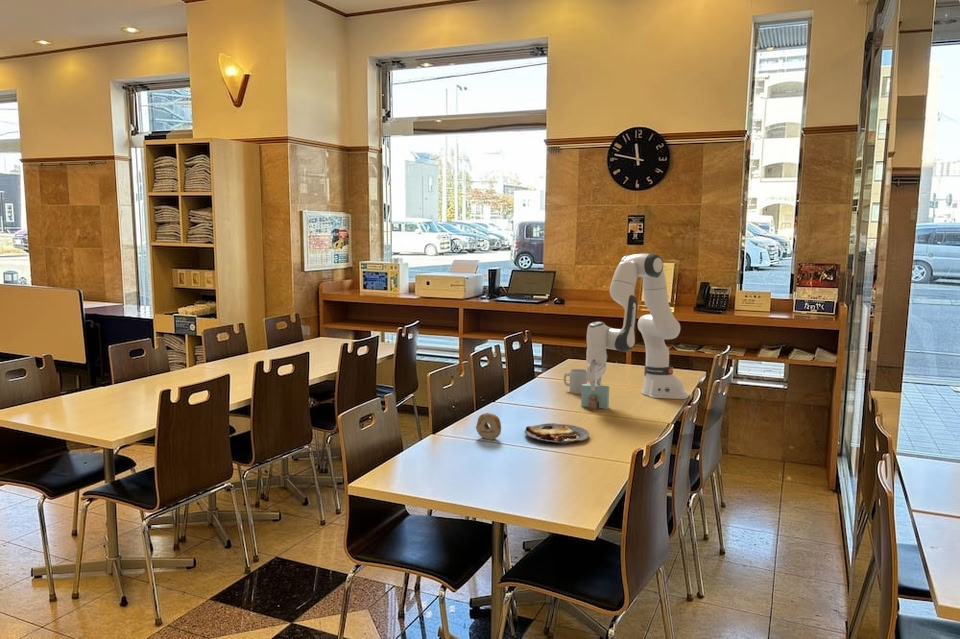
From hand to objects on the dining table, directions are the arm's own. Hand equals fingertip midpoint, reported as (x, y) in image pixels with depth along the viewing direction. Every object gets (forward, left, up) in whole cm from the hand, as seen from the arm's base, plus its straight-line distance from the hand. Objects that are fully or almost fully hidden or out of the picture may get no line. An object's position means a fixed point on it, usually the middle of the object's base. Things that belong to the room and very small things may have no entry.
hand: (596, 387), depth 314 cm
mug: (+17, -26, -9) cm, 32 cm away
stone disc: (+25, +64, -9) cm, 70 cm away
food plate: (+2, +51, -9) cm, 52 cm away
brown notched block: (0, 0, -9) cm, 9 cm away
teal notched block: (0, 0, -9) cm, 9 cm away
